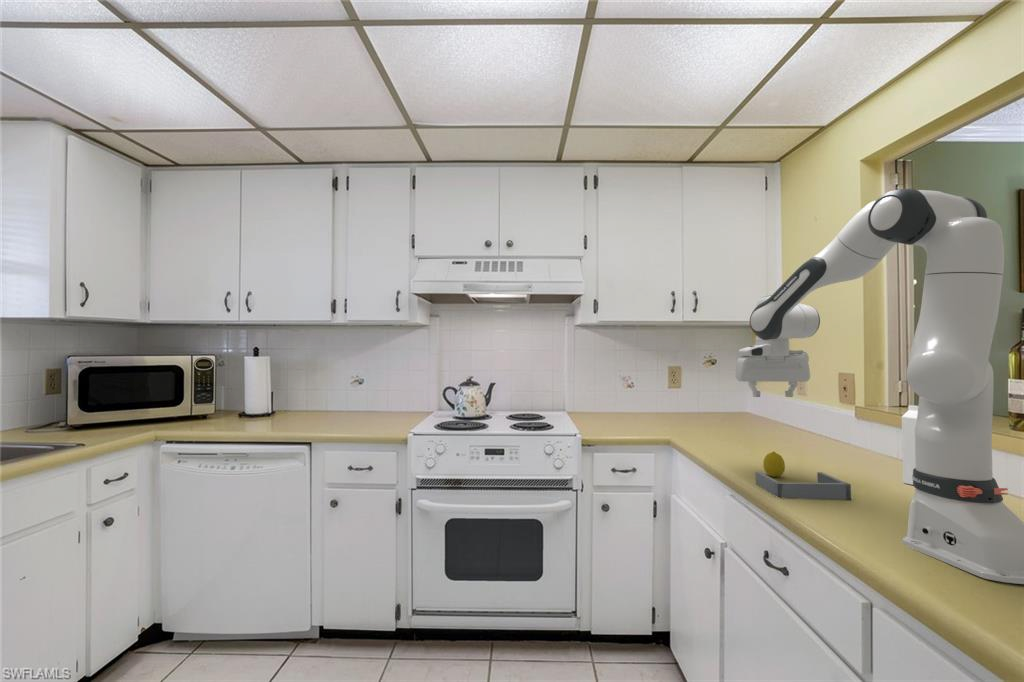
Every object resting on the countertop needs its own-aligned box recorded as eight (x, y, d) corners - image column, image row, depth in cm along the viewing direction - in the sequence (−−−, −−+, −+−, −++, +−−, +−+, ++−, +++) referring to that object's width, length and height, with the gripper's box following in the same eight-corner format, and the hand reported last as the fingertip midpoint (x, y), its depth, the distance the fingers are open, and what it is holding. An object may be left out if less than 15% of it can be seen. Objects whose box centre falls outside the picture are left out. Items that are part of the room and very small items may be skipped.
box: (851, 500, 119) (850, 484, 119) (777, 499, 120) (777, 483, 120) (822, 486, 131) (821, 472, 131) (755, 486, 132) (755, 471, 132)
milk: (926, 488, 129) (924, 407, 129) (902, 482, 135) (900, 405, 135) (941, 486, 131) (939, 406, 131) (917, 480, 137) (915, 404, 137)
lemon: (788, 481, 136) (787, 453, 136) (767, 480, 137) (766, 453, 138) (781, 476, 142) (780, 450, 142) (761, 475, 143) (760, 449, 143)
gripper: (802, 350, 143) (802, 396, 143) (733, 350, 144) (733, 395, 144) (814, 350, 137) (815, 398, 136) (742, 350, 138) (742, 397, 137)
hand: (772, 397), depth 140 cm, fingers open, 8 cm apart
